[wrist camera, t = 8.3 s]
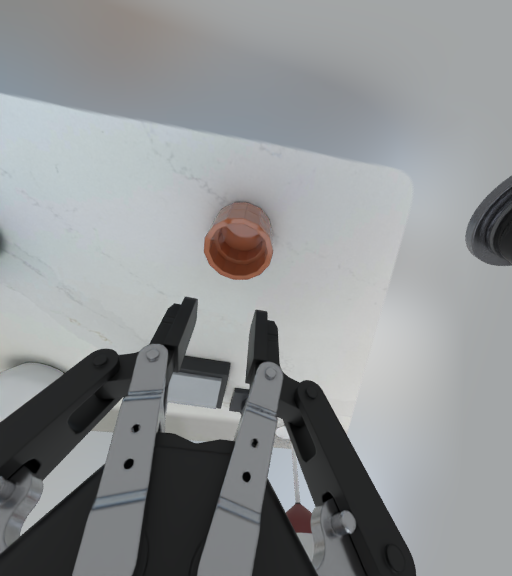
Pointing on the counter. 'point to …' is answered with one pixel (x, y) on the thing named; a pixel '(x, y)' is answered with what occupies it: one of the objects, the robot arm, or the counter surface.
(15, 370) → the cup
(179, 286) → the counter surface
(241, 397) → the block
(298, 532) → the wineglass
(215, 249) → the copper hollow cylinder
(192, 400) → the scale
